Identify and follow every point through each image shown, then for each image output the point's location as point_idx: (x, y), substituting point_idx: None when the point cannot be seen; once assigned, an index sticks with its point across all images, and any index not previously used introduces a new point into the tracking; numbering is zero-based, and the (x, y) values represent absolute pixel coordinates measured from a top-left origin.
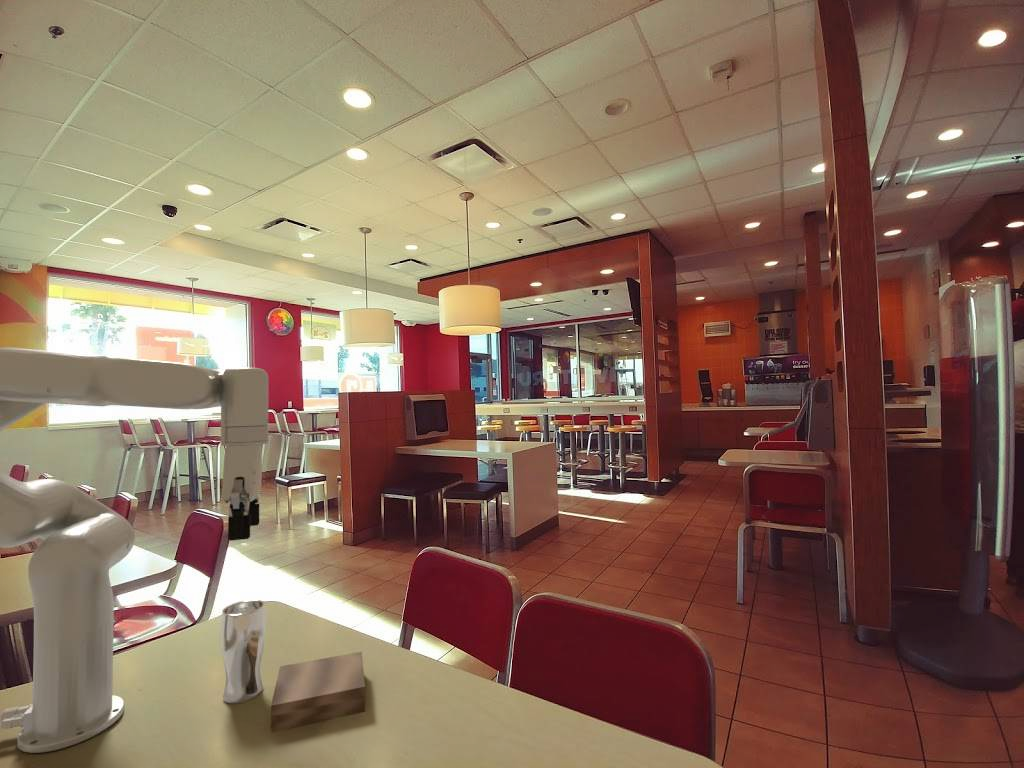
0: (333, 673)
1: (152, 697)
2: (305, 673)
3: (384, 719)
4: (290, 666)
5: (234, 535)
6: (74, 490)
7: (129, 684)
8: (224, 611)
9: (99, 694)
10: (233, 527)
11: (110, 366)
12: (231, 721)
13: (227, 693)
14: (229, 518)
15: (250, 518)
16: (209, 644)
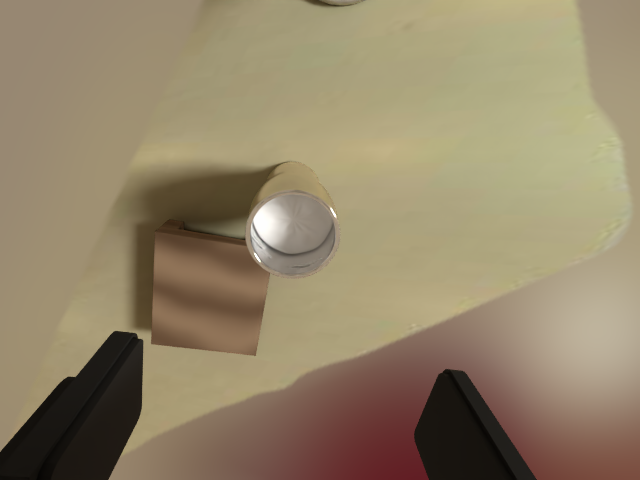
0: (208, 314)
1: (365, 51)
2: (229, 281)
3: None
4: None
5: (71, 378)
6: None
7: (443, 3)
8: (292, 194)
9: None
10: (31, 419)
11: None
12: (222, 172)
13: (277, 169)
14: (14, 463)
15: (442, 445)
16: (509, 138)
